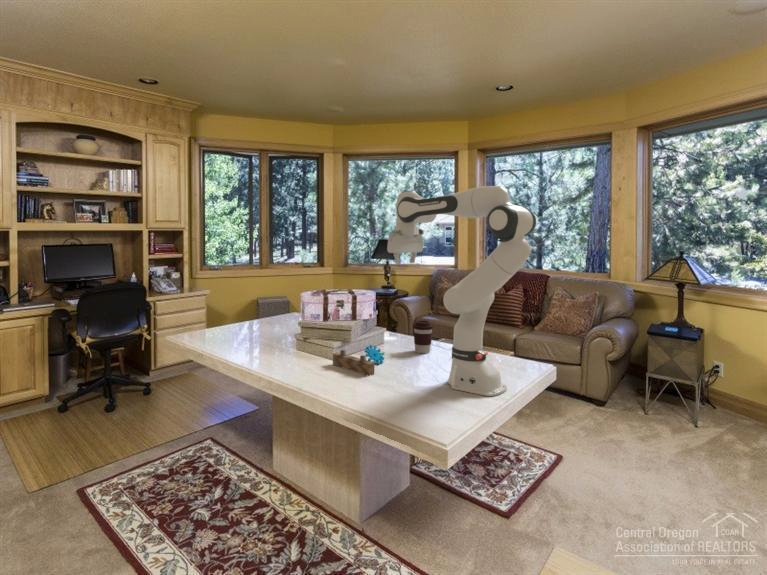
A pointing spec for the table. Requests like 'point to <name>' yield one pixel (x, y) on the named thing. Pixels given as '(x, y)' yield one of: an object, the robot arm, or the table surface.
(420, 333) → the coffee cup
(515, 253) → the robot arm
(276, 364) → the table surface
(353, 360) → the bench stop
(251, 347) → the table surface
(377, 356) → the gear
